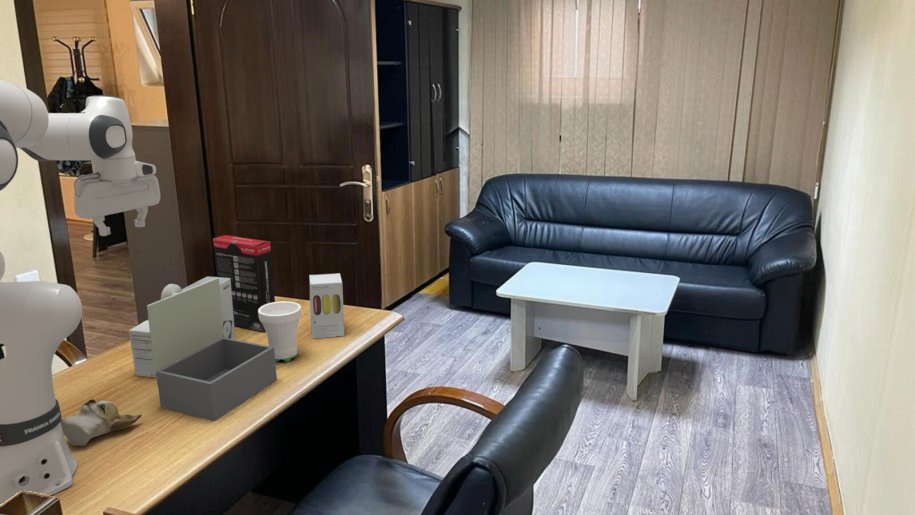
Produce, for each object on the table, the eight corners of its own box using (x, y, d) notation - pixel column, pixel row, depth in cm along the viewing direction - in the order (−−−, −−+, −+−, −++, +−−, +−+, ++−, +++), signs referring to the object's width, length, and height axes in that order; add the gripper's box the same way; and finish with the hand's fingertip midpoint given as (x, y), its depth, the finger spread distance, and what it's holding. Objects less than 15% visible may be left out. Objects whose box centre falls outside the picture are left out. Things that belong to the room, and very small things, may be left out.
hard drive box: (207, 367, 177) (199, 295, 172) (180, 364, 179) (172, 293, 173) (237, 343, 192) (230, 277, 187) (212, 341, 194) (205, 275, 188)
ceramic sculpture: (43, 406, 139) (109, 381, 152) (48, 444, 141) (112, 416, 154) (77, 418, 134) (142, 391, 147) (81, 458, 136) (144, 428, 149)
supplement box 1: (152, 363, 179) (146, 319, 176) (177, 366, 178) (172, 321, 174) (134, 376, 172) (127, 329, 169) (160, 378, 171) (154, 332, 167)
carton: (214, 420, 151) (210, 384, 148) (160, 407, 157) (155, 371, 154) (276, 380, 170) (274, 347, 168) (226, 369, 176) (223, 337, 174)
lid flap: (148, 302, 149) (131, 298, 151) (155, 371, 154) (138, 366, 156) (218, 274, 169) (202, 271, 171) (223, 337, 174) (207, 333, 175)
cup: (296, 345, 191) (292, 298, 187) (310, 359, 182) (307, 310, 178) (256, 354, 185) (252, 306, 181) (269, 369, 176) (265, 318, 172)
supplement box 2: (312, 339, 195) (308, 284, 191) (311, 327, 204) (307, 274, 199) (345, 336, 197) (342, 281, 193) (343, 325, 206) (340, 272, 201)
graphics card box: (279, 326, 205) (272, 239, 198) (263, 334, 199) (256, 244, 192) (235, 317, 212) (227, 233, 205) (219, 325, 206) (210, 238, 198)
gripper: (83, 177, 140) (92, 242, 143) (161, 165, 158) (168, 223, 161) (62, 175, 142) (72, 239, 146) (141, 164, 160) (148, 221, 164)
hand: (123, 230), depth 154 cm, fingers open, 8 cm apart
